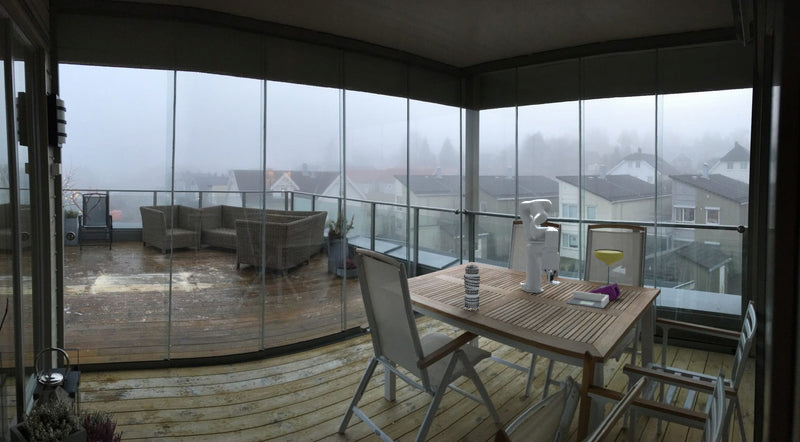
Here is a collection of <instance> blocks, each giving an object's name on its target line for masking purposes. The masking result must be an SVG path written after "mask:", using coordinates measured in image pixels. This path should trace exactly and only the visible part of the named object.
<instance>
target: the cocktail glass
mask: <svg viewBox="0 0 800 442" xmlns="http://www.w3.org/2000/svg"><path fill="white" fill-rule="evenodd" d="M593 252H594V253H593V254H594V255H593V256H594V257H595V258H596V259H597V260H599V261H601V262H603V263H605V265H606V266H607V283H606V285H600V286H599V288H601V287H605V286H608V285H610V267H611V266H612V265H613V264H615V263H617V262H619V261H621V260H623V259H624V257H625V252H624V251H623V250H620V249H619V250H618V249H610V248H609V249H608V248H607V249H606V248H605V249H603V248H599V249H594V251H593Z"/></svg>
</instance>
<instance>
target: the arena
mask: <svg viewBox="0 0 800 442" xmlns="http://www.w3.org/2000/svg"><path fill="white" fill-rule="evenodd" d="M572 292H573V293H572V298H570V299H569V301H567V302H566V304H567V305H573V306H580V307H586V308H594V309H601V310H602V309H603V310H604V309H605V307H606V306H607V305H608V304H609V302H610V301H609V295H602V294H601V293H596V294H594V293H587V292H586V291H585V292H583V291H579V290H573V291H572Z"/></svg>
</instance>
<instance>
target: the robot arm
mask: <svg viewBox="0 0 800 442" xmlns="http://www.w3.org/2000/svg"><path fill="white" fill-rule="evenodd" d="M552 210H553V203H552V201H550V200H549V199H533V200H529V201H528V200H527V201H522V202H520V203H519V205H518V214H519V218H520V220H521V222H522V225H523V231H524V236H525V237H524V238H525V240H526V242H527V244H526V245H525V247H524V252H525V259H526V263H525V264H526V265H525V267H526V268H525V269H526V270H525V273H526V274H525V283H522V282H520V283H519V285H520V287H522V288H523V287H524V288H523V291H524V292H527V293H530V294H531V293H533V294H534V293H535V294H538V293H539V294H540V293H543V292H545V291H544V289H543V288H542V272H543V271H544V272H545V273H546V276H547V277H546V278H547V280H548V272H550V271H551V270H552V272H551V281H555V280H554V278H555V274H556V273H561V257H560V252H559V230H558V229H556V228H555V227H553V226H552V227H551V226H549V227H546V226H541V227H538V226H539V225H541V224H544V223H545V222H546V221H547V219H548V214H550V213H551V212H552ZM538 258H541V261H540V260H539V259H538Z"/></svg>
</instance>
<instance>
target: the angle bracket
mask: <svg viewBox="0 0 800 442" xmlns="http://www.w3.org/2000/svg"><path fill="white" fill-rule="evenodd" d="M551 272H552V270H550V272H548V279H547V285H553V286H560V285H561V284H562V282H561V281H556V280H553V281H551Z"/></svg>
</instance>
